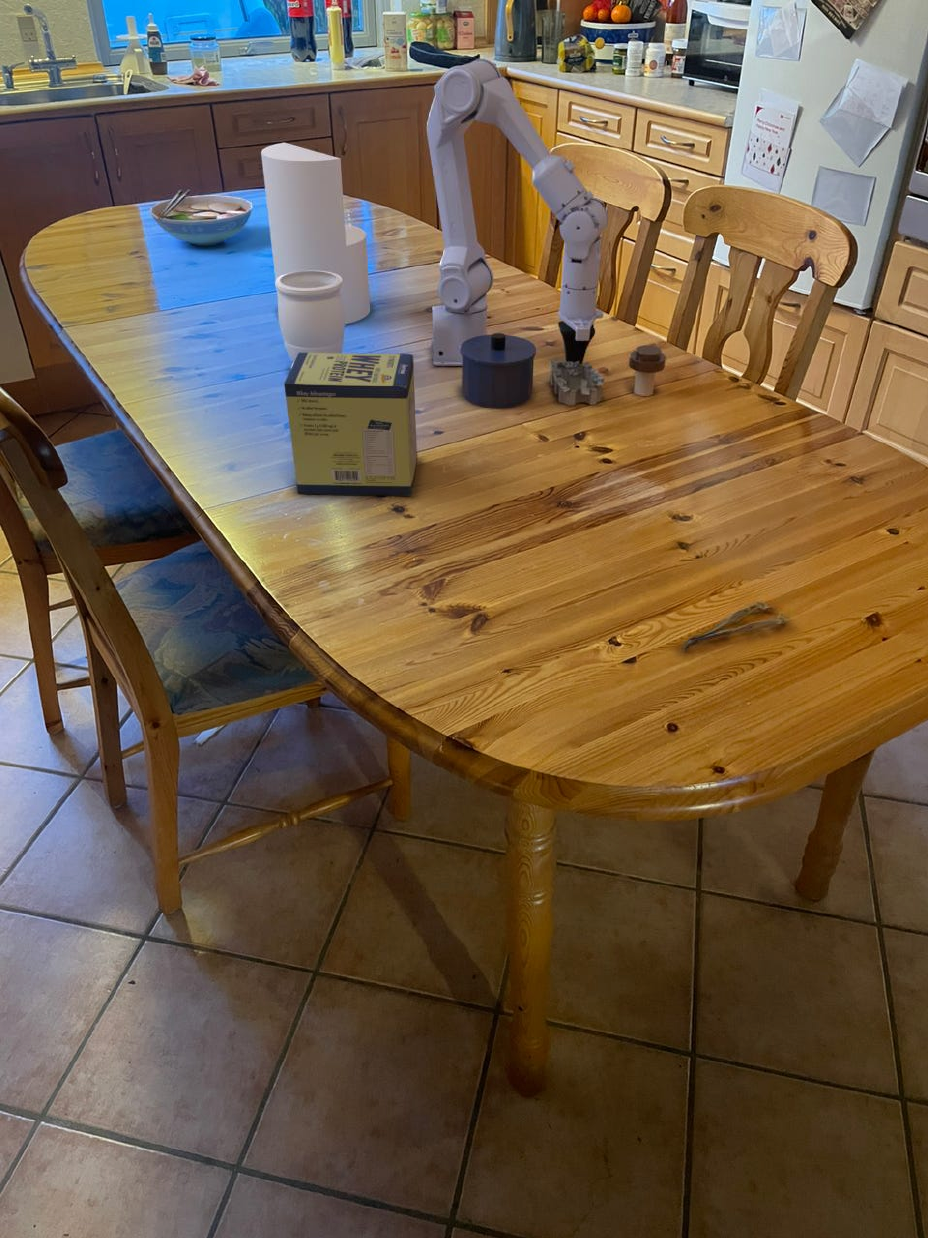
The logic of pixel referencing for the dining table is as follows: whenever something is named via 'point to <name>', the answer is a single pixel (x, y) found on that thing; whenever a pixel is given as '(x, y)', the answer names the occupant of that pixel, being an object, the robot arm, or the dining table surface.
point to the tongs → (734, 619)
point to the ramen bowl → (202, 217)
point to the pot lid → (498, 350)
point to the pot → (497, 384)
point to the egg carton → (576, 382)
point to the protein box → (352, 423)
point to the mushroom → (646, 368)
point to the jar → (311, 312)
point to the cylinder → (314, 222)
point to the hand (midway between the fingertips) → (573, 367)
